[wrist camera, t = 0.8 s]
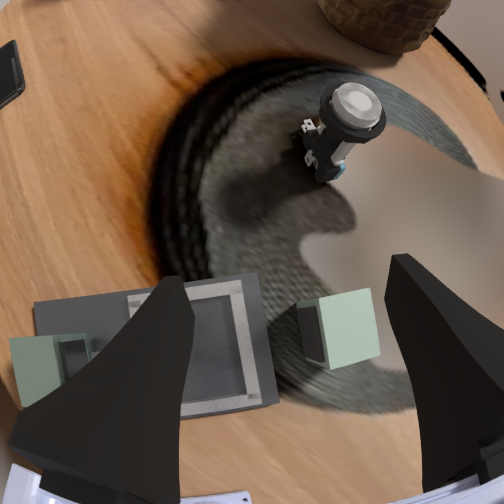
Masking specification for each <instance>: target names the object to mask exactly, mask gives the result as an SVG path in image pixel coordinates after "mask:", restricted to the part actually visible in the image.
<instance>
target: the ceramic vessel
mask: <svg viewBox="0 0 504 504" xmlns="http://www.w3.org/2000/svg"><path fill="white" fill-rule="evenodd" d="M317 1H318V3H319V5H320V7H321V9H322V11H323V13H324V14H325V16H326V18H327V19H328V21H329V22H330V23H331V24H332V25H334V26H335V27H336V28H337V29H338V30H339V31H340V32H341V33H342V34H343V35H344V36H346V37H347V38H348V39H350V40H353V41H355V42H357V43H360V44H362V45H364V46H366V47H368V48H370V49H373V50H378V51H381V52H384V53H387V54H400V53H406V52H410V51H415V50H417V49H419V48H420V46H421V44H422V43H423V42H424V41H425V40H426V39H428V37H429V36H430V34H431V32H432V31H433V28H434V27H435V25H436V23H437V21H438V19H439V17H440V16H441V15H443V14H444V13H445V12H446V10H447V9H448V8H449V7H450V3H451V0H317Z"/></svg>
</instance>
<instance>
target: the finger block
mask: <svg viewBox="0 0 504 504" xmlns="http://www.w3.org/2000/svg"><path fill="white" fill-rule="evenodd" d="M296 306H297V309H296V312H297V318H298V323H299V329H300V335H301V341H302V347H303V353H304V357H305V359H306V360H308V361H310V362H313V363H315V364H318V365H320V366H322V367H325V368H327V369H330V370H331V369H335V368H339V367H342V366H346V365H349V364H353V363H356V362H360V361H363V360H366V359H370V358H373V357H376V356H379V355H380V347H379V340H378V334H377V327H376V321H375V315H374V309H373V303H372V298H371V292H370V288H366V289H361V290H357V291H352V292H347V293H342V294H337V295H333V296H328V297H323V298H318V299H313V300H308V301H302V302H297V303H296Z"/></svg>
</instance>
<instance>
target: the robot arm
mask: <svg viewBox="0 0 504 504" xmlns="http://www.w3.org/2000/svg"><path fill="white" fill-rule="evenodd" d="M384 300H385V304H386V308H387V312H388V316H389V320H390V324H391V327H392V329H393V332H394V335H395V337H396V340H397V343H398V345H399V348H400V351H401V354H402V356H403V359H404V362H405V365H406V368H407V371H408V373H409V377H410V380H411V384H412V388H413V393H414V398H415V403H416V408H417V415H418V422H419V429H420V439H421V450H422V487H423V494H420V495H417V496H413V497H410V498H406V499H403V500H399V501H395V502H391V503H387V504H504V330H503V329H502V328H500V327H498V326H497V325H496V324H494V323H493V322H491V321H490V320H488V319H487V318H485V317H484V316H483V315H481V314H480V313H478V312H477V311H476V310H475V309H473V308H472V307H471V306H469V305H468V304H467V303H466V302H464V301H463V300H462V299H461V298H459V297H458V296H457V295H456V294H455V293H454V292H452V291H451V290H450V289H449V288H447V287H446V286H445V285H444V284H443V283H442V282H441V281H439V280H438V279H437V278H436V277H435V276H434V275H433V274H432V273H430V272H429V271H428V270H427V269H426V268H425V267H424V266H422V265H421V264H420V263H419V262H418V261H417V260H415V259H414V258H413V257H412V256H410V255H409V254H408V253H406V254H397V255H392V257H391V264H390V269H389V275H388V281H387V286H386V292H385V297H384ZM194 327H195V315H194V312H193V309H192V306H191V304H190V301H189V298H188V295H187V293H186V290H185V287H184V284H183V281H182V278H181V275H180V276H168V277H164V278H163V279H162V280H161V281H160V282H159V283H158V285H157V286H156V287H155V288H154V290H153V291H152V292H151V293H150V295H149V296H148V297H147V299H146V300H145V301H144V302H143V304H142V305H141V306H140V307H139V308H138V310H137V311H136V312H135V313H134V315H133V316H132V317H131V318H130V319H129V321H128V322H127V323H126V324H125V325H124V326H123V327H122V329H121V330H120V331H119V332H118V333H117V334H116V335H115V337H114V338H113V339H112V340H111V341H110V342H109V343H108V344H107V345H106V346H105V347H104V348H103V349H102V350H101V351H100V352H99V353H98V354H97V355H96V356H95V357H94V358H93V359H92V360H91V361H90V362H89V363H88V364H86V365H85V366H84V367H83V368H82V369H80V370H79V371H78V372H77V373H76V374H75V375H73V376H72V377H71V378H70V379H69V380H67V381H66V382H65V383H63V384H62V385H61V386H59V387H58V388H56V389H55V390H54V391H52V392H51V393H49V394H48V395H46V396H45V397H43V398H42V399H40V400H38V401H37V402H35V403H33V404H32V405H30V406H28V407H26V408H25V409H23V410H21V411H19V412H18V415H17V418H16V421H15V423H14V426H13V430H12V432H11V435H10V438H9V441H8V445H9V447H10V448H11V449H12V450H13V451H15V452H16V453H17V454H19V455H20V456H22V457H23V458H25V459H27V460H28V461H30V462H32V463H33V464H35V465H36V466H38V467H40V468H42V469H43V473H42V476H41V475H39V474H37V473H35V472H32V471H30V470H28V469H25V468H23V467H21V466H19V465H17V464H12V467H11V470H10V474H9V477H8V481H7V485H6V489H5V493H4V497H3V502H2V504H252V502H251V498H250V494H249V492H248V491H237V492H231V493H224V494H216V495H208V496H198V497H186V498H180V484H179V428H180V413H181V403H182V396H183V391H184V386H185V381H186V376H187V371H188V366H189V361H190V356H191V351H192V346H193V339H194ZM244 498H247V500H243V499H244Z"/></svg>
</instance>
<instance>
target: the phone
mask: <svg viewBox="0 0 504 504" xmlns="http://www.w3.org/2000/svg"><path fill="white" fill-rule="evenodd" d="M24 90H25V82H24V76H23V70H22V68H21V63H20V57H19V52H18V46H17V43H16V41H15V40H12V41H10V42H8V43H7V44H5V45H4V46H2V47H1V48H0V110H1V109H2V108H3V107H4V106H6V105H7V104H8V103H10V102H11V101H12V100H14V99H15V98H17V97H18V96H19V95H21V94H22V92H23V91H24Z"/></svg>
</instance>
